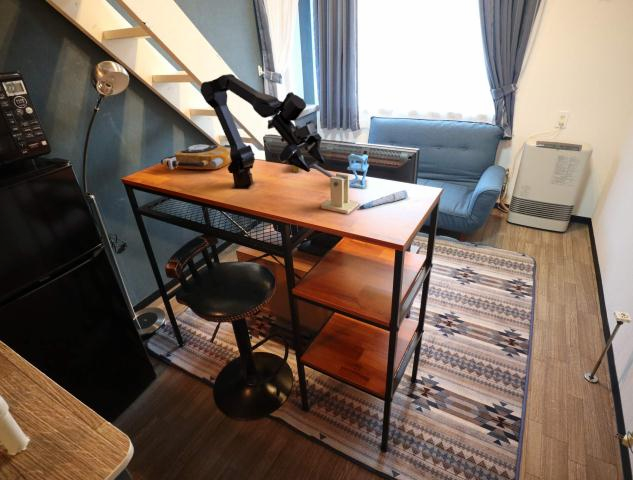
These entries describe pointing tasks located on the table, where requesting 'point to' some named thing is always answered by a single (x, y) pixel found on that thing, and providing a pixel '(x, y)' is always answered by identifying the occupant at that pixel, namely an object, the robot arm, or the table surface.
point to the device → (200, 157)
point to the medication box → (297, 167)
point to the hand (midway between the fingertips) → (316, 167)
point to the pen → (386, 199)
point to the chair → (358, 168)
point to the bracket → (339, 195)
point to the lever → (323, 170)
